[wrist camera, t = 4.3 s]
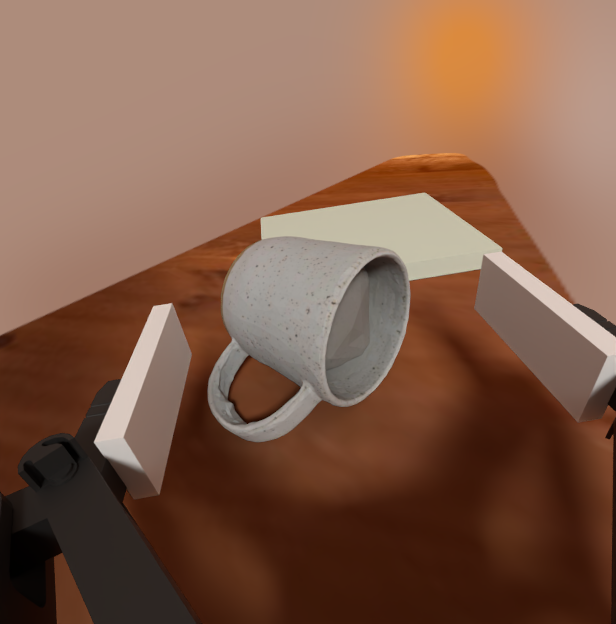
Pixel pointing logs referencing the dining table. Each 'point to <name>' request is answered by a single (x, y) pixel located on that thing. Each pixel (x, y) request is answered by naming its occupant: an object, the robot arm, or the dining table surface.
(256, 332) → the ceramic mug
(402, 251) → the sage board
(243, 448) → the dining table surface
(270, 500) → the dining table surface
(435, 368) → the dining table surface
